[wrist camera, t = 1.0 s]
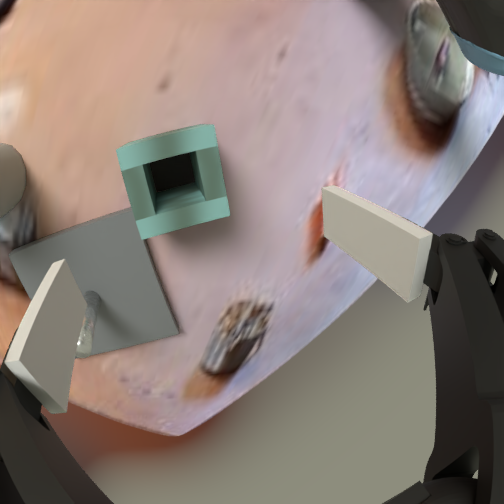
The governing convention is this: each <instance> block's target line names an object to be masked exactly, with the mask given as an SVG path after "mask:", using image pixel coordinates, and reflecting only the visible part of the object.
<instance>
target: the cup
mask: <svg viewBox="0 0 504 504" xmlns="http://www.w3.org/2000/svg"><path fill="white" fill-rule="evenodd" d="M25 186H26V168H25V165H24V162H23V160H22V157H21V154H20V153H19V152H18V151H17V150H16V149H15V148H14V147H13V146H12V145H8V144H4V143H0V218H2V217H3V216H4V215H5V214H7V213H8V212H9V211H11V210H12V209H13V208H14V207H15V206H16V205H17V203H18V202H19V201H20V200H21V198H22V195H23V192H24V189H25Z"/></svg>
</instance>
